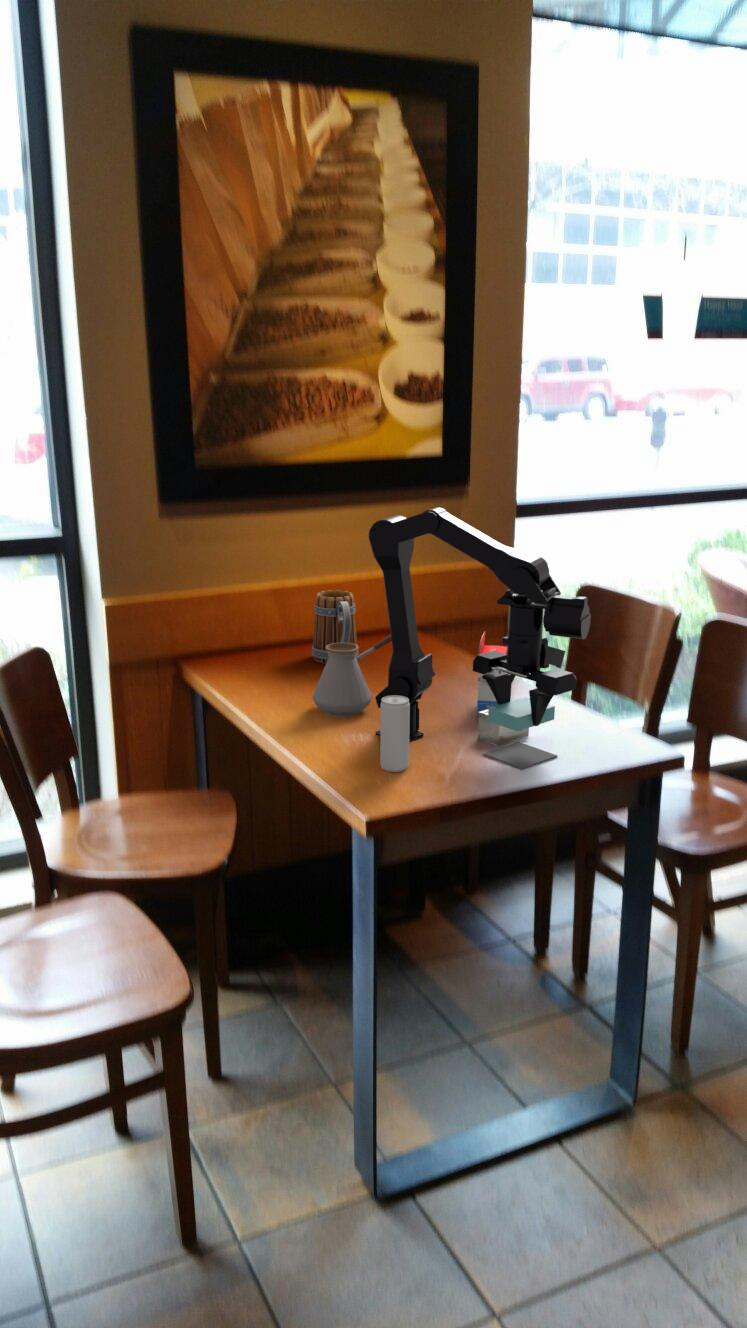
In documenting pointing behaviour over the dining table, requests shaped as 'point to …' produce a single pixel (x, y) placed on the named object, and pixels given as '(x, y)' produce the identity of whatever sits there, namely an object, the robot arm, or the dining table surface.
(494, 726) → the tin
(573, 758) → the dining table surface
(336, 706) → the coffee pot
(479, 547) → the robot arm
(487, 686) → the ink box
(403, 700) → the beverage can
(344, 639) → the mug
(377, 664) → the dining table surface
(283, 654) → the dining table surface
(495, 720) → the lid
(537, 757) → the coaster
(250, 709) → the dining table surface
